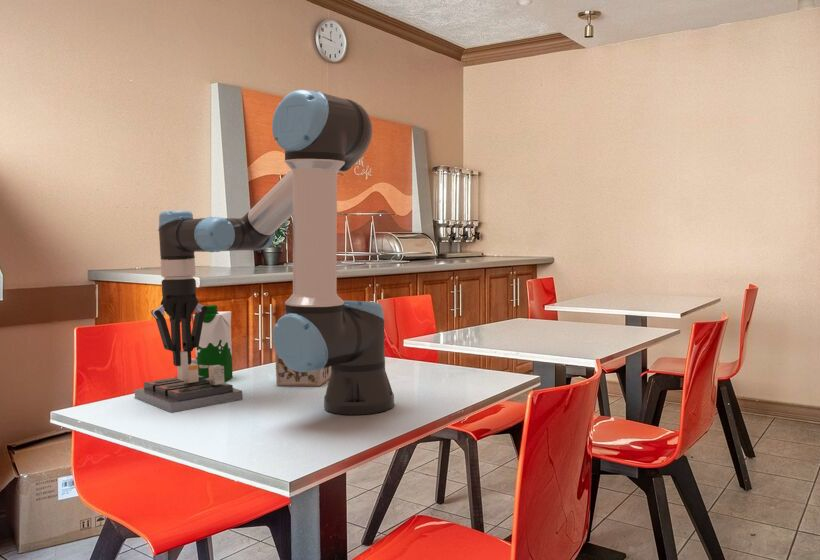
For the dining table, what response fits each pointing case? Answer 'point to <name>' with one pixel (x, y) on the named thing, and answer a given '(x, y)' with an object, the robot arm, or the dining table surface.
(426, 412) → the dining table surface
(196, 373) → the toggle
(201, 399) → the breaker panel
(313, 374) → the decorative jar
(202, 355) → the milk carton
